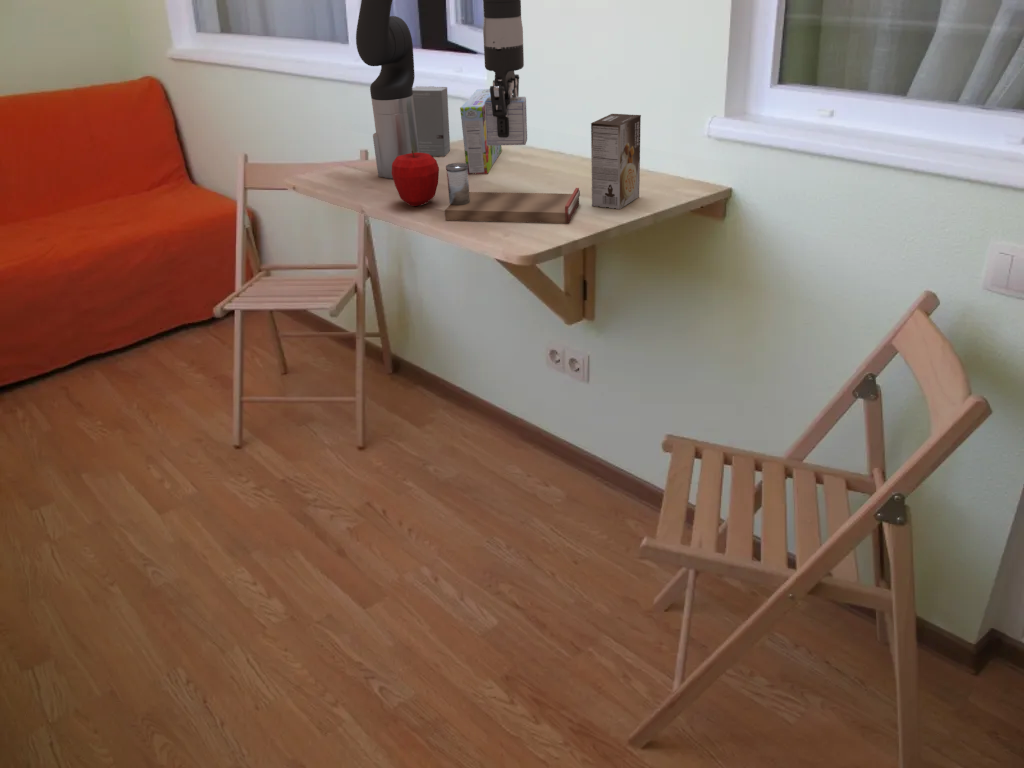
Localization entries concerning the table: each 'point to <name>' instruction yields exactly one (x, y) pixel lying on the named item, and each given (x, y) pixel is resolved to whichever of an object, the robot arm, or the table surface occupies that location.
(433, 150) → the skincare box
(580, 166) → the table surface
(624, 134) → the coffee box
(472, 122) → the snack box
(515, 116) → the medicine box
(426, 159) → the apple
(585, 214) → the table surface
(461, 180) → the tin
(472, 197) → the brown wooden board
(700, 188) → the table surface
